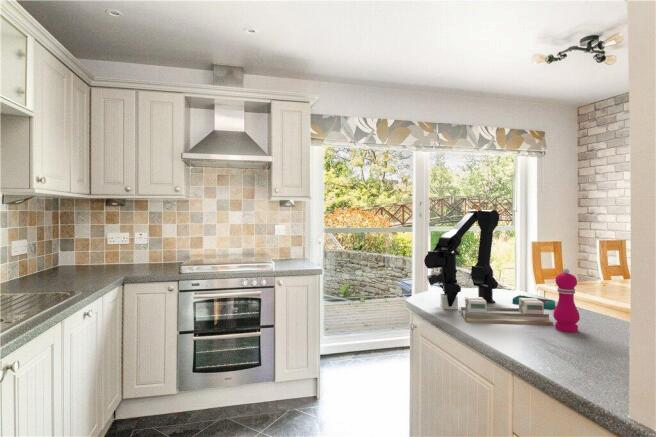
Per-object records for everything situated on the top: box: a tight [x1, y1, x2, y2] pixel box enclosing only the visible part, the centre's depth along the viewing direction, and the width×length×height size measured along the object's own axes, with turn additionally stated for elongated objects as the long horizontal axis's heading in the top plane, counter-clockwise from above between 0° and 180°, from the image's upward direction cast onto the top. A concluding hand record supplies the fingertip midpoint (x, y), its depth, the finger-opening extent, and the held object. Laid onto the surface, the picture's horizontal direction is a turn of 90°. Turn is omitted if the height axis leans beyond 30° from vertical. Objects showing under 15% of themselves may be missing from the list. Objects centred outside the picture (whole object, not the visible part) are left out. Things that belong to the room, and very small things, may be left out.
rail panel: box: [459, 296, 554, 325], centre depth 135 cm, size 14×28×7 cm, turn 81°
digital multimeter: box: [512, 294, 556, 310], centre depth 153 cm, size 7×15×3 cm, turn 43°
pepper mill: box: [553, 268, 581, 333], centre depth 121 cm, size 7×7×20 cm
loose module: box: [440, 293, 459, 310], centre depth 151 cm, size 5×6×5 cm
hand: (449, 304), depth 151 cm, fingers closed on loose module, 5 cm apart
